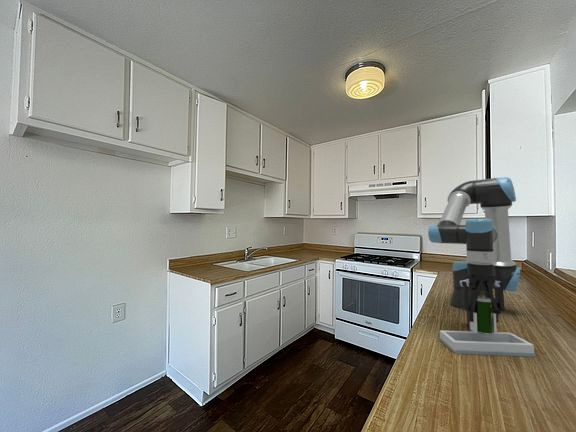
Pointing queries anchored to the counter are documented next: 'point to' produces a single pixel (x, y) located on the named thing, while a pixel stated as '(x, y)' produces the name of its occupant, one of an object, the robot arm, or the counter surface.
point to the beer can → (484, 315)
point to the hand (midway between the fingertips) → (483, 331)
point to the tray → (486, 343)
